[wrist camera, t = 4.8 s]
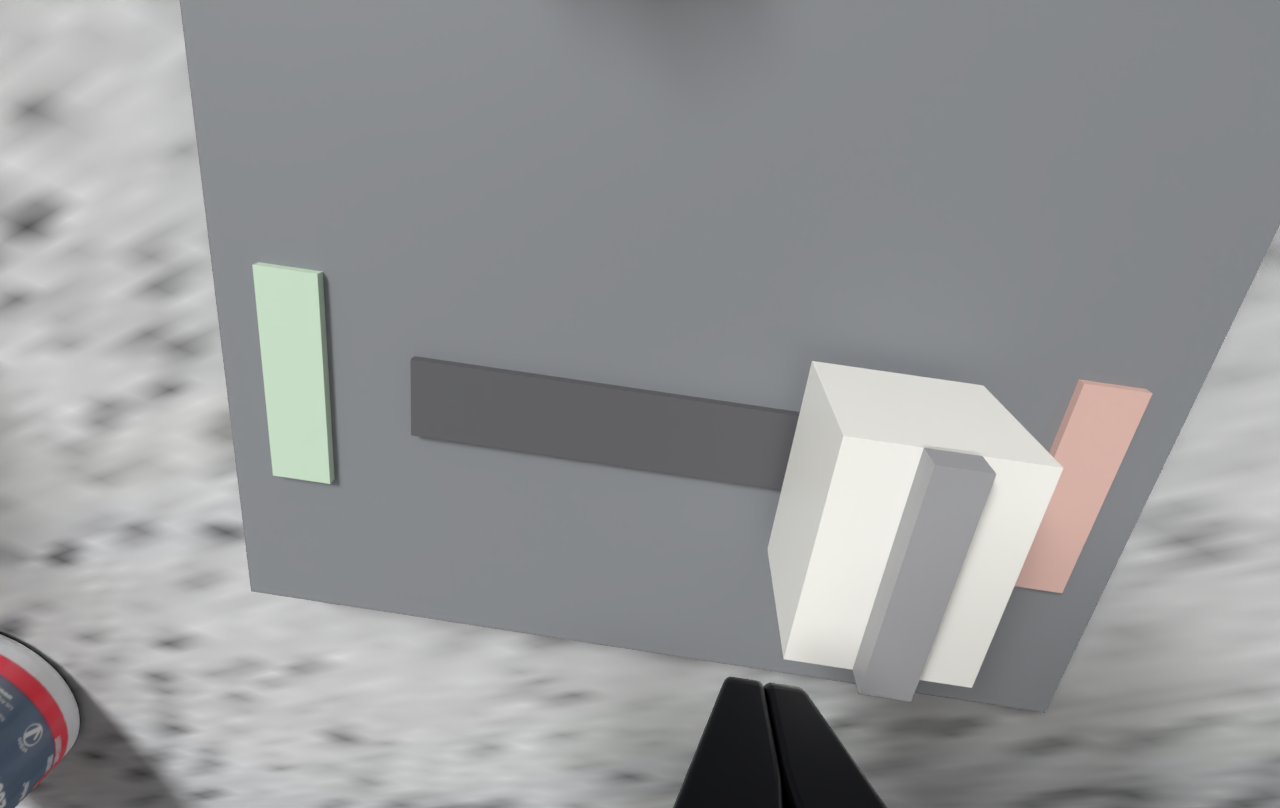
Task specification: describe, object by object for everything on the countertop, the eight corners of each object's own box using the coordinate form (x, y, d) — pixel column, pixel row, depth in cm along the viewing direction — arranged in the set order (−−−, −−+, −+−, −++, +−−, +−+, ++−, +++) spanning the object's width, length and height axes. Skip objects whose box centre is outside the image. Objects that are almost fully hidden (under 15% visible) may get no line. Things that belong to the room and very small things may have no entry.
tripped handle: (983, 385, 12) (1081, 486, 9) (918, 572, 14) (983, 712, 11) (811, 361, 12) (849, 453, 9) (766, 549, 14) (787, 683, 11)
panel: (1717, -916, 8) (1964, -1161, 6) (1017, 663, 17) (1048, 719, 16) (134, -1076, 8) (1, -1347, 7) (286, 552, 18) (245, 597, 16)
